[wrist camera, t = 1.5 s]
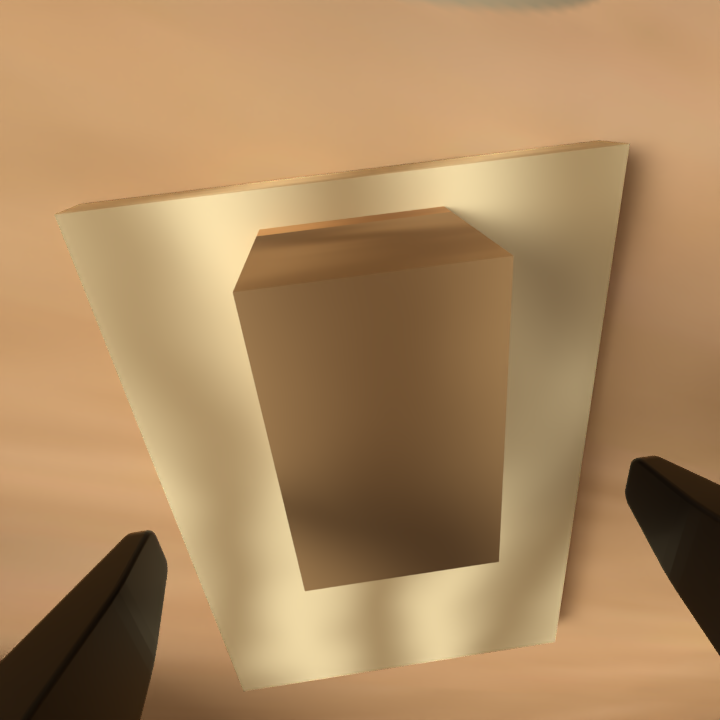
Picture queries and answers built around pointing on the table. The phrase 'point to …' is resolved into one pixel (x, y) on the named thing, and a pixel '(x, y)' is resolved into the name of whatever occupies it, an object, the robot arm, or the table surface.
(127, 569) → the robot arm
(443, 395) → the block
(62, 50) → the table surface
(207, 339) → the pine board
